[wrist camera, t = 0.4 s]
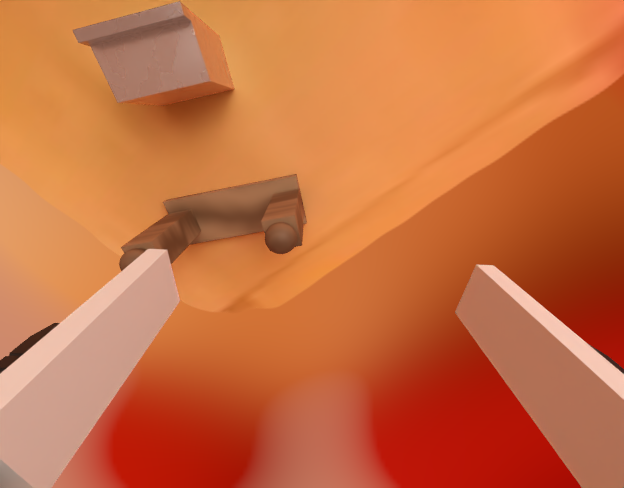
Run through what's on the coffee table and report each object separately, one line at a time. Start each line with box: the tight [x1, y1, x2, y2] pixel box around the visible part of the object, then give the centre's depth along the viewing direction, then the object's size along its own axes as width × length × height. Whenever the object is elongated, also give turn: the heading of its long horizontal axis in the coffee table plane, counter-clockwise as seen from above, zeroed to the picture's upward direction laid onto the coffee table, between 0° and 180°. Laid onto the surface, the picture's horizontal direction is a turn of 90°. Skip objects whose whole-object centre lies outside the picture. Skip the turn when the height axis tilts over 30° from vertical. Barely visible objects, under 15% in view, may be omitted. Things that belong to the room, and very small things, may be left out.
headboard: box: [119, 174, 307, 271], centre depth 30 cm, size 7×19×14 cm, turn 101°
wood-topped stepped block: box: [73, 1, 234, 106], centre depth 24 cm, size 5×9×9 cm, turn 101°
